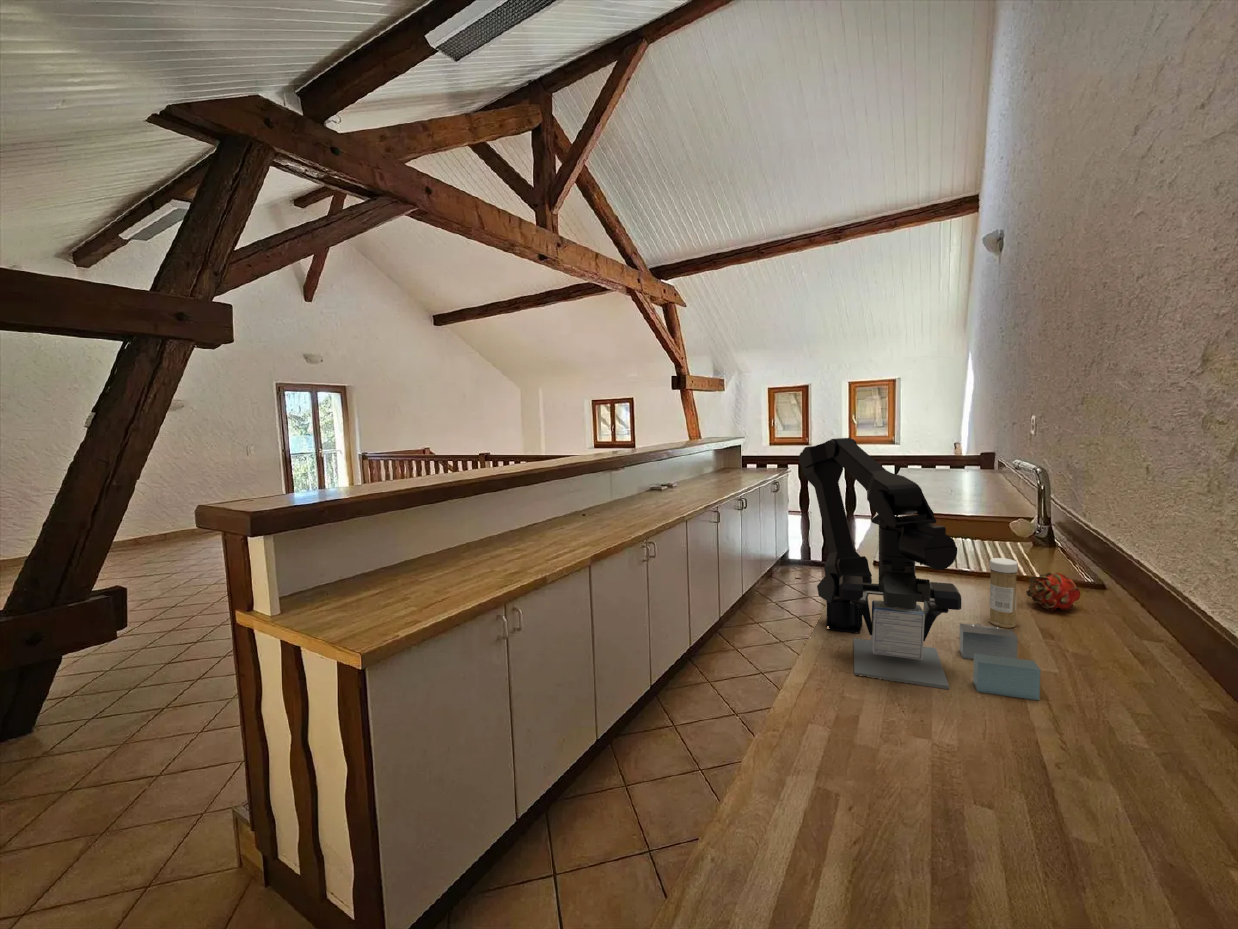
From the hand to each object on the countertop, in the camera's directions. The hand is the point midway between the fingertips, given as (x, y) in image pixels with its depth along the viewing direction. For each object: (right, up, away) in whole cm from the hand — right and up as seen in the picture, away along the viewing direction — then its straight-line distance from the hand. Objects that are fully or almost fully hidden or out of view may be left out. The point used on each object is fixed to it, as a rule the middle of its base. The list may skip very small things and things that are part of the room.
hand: (896, 637), depth 93 cm
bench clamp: (+16, -4, -2) cm, 16 cm away
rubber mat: (0, -5, 0) cm, 5 cm away
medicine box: (0, -3, 0) cm, 3 cm away
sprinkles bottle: (+29, -2, +14) cm, 32 cm away
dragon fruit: (+45, 0, +21) cm, 50 cm away
